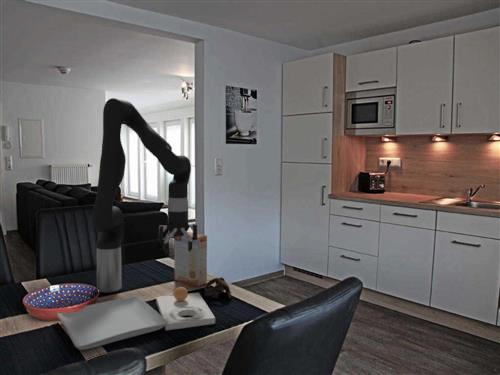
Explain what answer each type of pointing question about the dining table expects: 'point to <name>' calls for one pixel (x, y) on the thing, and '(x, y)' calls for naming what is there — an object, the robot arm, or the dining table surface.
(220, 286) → the brown openwork arch
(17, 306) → the dining table surface
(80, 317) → the square plate
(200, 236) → the cracker box
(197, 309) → the white flat slab
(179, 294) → the ball
